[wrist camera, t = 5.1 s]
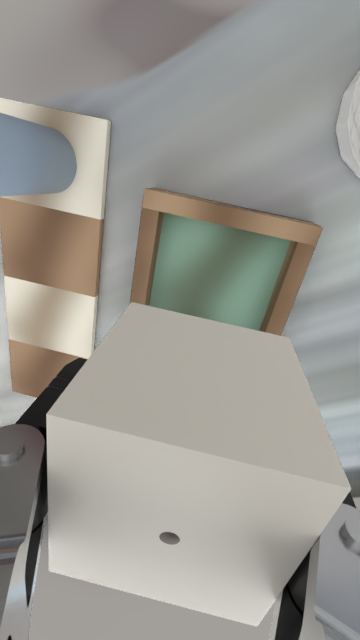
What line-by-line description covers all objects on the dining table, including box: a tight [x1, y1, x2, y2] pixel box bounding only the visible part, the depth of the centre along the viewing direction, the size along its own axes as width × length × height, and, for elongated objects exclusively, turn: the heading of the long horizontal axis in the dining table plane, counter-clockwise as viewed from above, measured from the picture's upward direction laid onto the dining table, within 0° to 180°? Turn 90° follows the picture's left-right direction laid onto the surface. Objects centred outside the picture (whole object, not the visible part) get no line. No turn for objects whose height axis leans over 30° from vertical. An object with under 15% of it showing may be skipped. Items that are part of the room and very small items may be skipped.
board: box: [0, 98, 111, 398], centre depth 22 cm, size 7×22×1 cm, turn 169°
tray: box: [130, 188, 323, 336], centre depth 20 cm, size 10×10×2 cm
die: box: [46, 302, 351, 626], centre depth 8 cm, size 5×5×5 cm
